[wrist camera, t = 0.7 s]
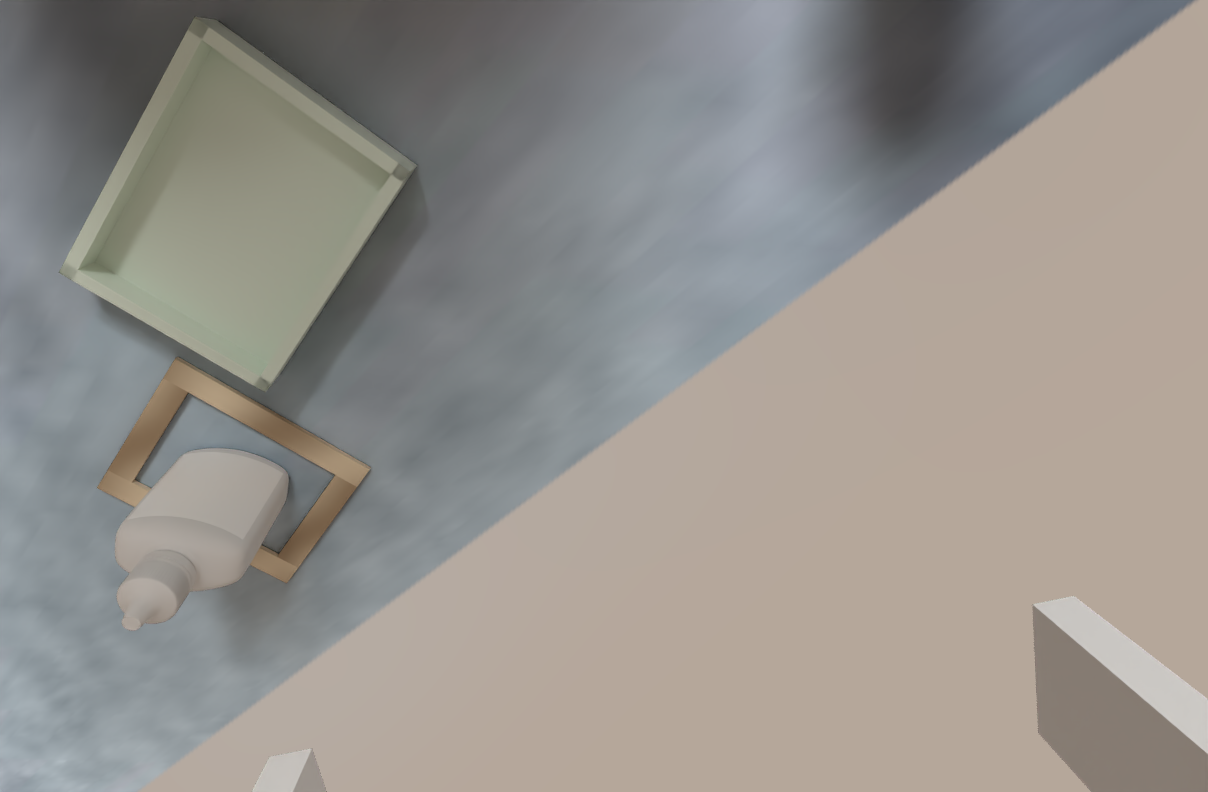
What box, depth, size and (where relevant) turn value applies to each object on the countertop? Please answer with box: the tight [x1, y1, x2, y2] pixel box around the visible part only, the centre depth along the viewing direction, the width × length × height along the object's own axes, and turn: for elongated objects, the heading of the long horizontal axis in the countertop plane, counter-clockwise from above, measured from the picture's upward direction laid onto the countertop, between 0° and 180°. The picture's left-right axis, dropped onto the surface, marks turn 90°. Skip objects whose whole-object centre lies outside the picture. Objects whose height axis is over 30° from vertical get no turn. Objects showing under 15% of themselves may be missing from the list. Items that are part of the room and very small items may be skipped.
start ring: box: [97, 357, 371, 583], centre depth 41 cm, size 11×9×1 cm
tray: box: [59, 17, 417, 392], centre depth 35 cm, size 10×13×2 cm
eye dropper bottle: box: [115, 448, 289, 631], centre depth 36 cm, size 4×6×12 cm
